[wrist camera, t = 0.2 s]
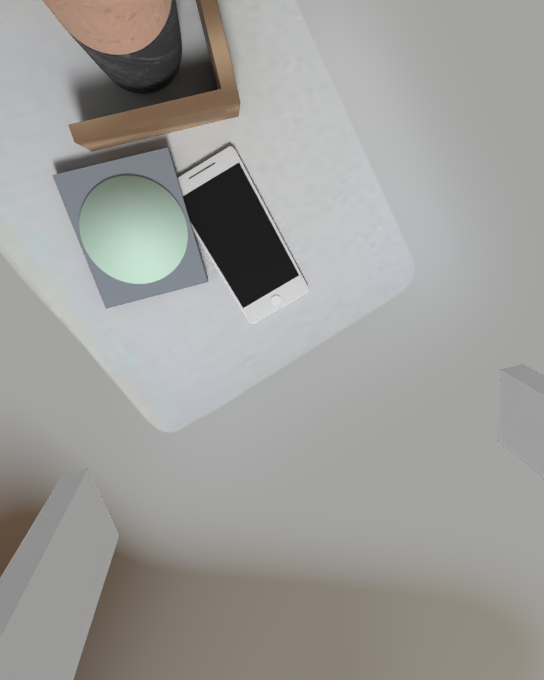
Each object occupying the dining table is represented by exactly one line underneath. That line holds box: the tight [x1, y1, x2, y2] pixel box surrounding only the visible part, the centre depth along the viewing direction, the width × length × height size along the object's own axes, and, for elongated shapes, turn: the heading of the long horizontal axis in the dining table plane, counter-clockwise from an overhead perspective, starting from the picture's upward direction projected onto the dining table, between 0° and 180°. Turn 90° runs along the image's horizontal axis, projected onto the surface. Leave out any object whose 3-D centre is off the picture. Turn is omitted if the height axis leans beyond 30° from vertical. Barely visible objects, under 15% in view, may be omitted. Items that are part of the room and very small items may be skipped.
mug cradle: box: [69, 0, 240, 151], centre depth 29 cm, size 13×13×4 cm
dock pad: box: [53, 147, 208, 308], centre depth 34 cm, size 12×10×1 cm
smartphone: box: [178, 146, 309, 324], centre depth 36 cm, size 7×15×1 cm, turn 30°
